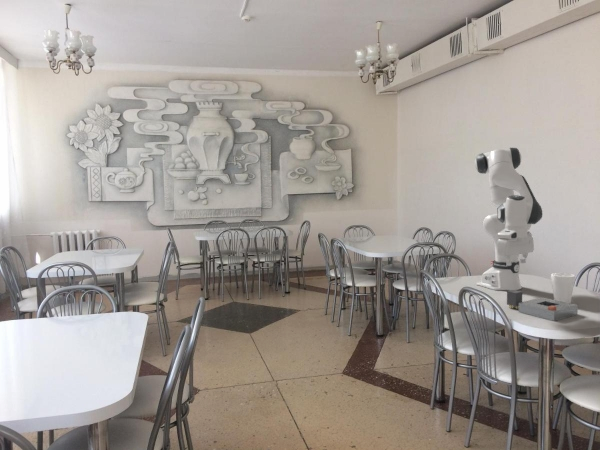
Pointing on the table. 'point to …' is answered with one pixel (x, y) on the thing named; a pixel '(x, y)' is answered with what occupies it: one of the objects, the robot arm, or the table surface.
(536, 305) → the socket
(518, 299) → the plug
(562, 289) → the foam cup
